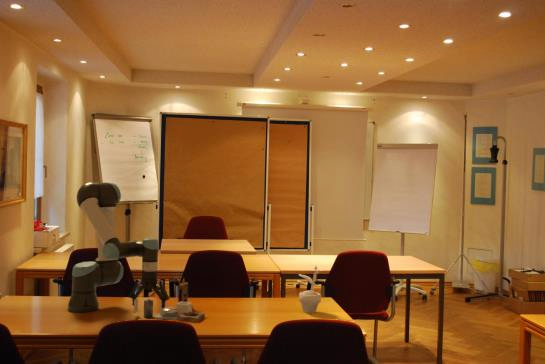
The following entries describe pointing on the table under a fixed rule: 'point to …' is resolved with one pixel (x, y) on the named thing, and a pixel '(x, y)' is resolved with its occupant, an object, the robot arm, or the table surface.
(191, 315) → the brown square tray
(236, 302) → the table surface
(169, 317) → the base
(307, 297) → the potted plant
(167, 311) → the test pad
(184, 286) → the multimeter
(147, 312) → the cell
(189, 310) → the cup
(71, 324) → the table surface
